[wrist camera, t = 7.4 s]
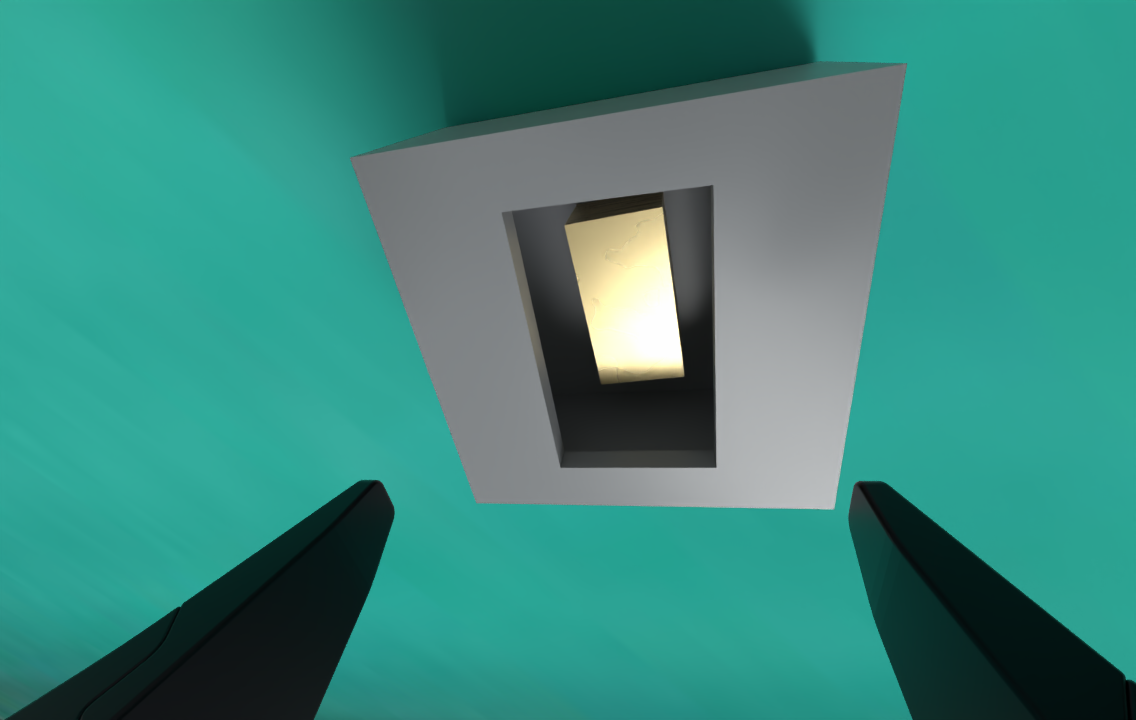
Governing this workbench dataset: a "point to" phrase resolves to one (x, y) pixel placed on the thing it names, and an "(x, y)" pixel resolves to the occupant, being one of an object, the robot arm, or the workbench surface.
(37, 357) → the workbench surface
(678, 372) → the tall cream wooden block
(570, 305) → the slot box
